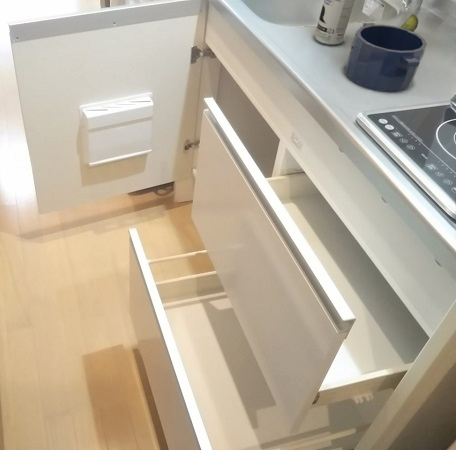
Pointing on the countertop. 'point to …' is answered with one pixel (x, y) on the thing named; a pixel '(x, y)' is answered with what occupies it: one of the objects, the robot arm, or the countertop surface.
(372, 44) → the pot
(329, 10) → the spray can
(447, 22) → the countertop surface
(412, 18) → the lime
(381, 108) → the countertop surface
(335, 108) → the countertop surface
